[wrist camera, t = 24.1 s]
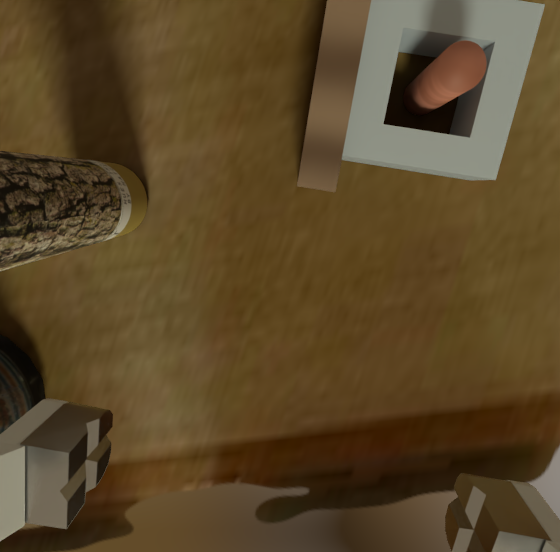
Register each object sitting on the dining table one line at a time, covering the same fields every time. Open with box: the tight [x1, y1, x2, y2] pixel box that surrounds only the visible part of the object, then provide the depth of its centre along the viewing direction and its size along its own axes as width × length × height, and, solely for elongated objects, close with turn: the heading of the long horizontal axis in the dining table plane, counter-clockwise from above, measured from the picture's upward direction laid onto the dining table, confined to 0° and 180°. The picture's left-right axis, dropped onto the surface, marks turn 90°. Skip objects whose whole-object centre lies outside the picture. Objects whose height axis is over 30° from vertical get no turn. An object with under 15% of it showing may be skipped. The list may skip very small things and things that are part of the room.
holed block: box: [342, 0, 545, 180], centre depth 31 cm, size 12×12×5 cm
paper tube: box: [0, 151, 147, 271], centre depth 25 cm, size 7×7×25 cm
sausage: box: [403, 40, 487, 115], centre depth 29 cm, size 3×3×9 cm
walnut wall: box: [297, 0, 371, 192], centre depth 31 cm, size 18×3×6 cm, turn 171°
